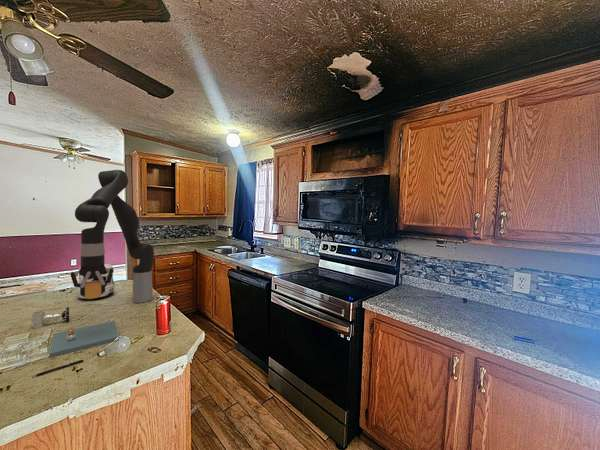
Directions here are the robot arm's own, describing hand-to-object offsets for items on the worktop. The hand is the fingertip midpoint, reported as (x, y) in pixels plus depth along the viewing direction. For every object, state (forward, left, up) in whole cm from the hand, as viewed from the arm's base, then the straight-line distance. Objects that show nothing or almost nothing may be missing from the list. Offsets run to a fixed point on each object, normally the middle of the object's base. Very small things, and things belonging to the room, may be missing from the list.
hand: (92, 294), depth 103 cm
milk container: (-3, -57, -18) cm, 60 cm away
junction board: (+2, 0, -18) cm, 18 cm away
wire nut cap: (0, 0, -1) cm, 1 cm away
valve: (+14, -25, -18) cm, 34 cm away
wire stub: (+7, +1, -16) cm, 18 cm away
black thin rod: (+9, +19, -18) cm, 28 cm away
